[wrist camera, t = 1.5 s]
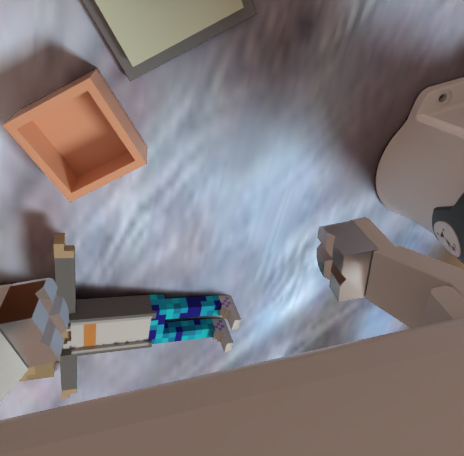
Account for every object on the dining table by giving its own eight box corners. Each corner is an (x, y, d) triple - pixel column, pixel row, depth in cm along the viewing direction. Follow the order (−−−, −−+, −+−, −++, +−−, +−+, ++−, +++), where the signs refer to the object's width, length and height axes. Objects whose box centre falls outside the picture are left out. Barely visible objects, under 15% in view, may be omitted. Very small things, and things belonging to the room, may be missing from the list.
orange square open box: (97, 67, 30) (89, 77, 27) (147, 146, 35) (146, 163, 31) (18, 110, 31) (2, 125, 28) (78, 182, 35) (70, 202, 32)
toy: (216, 393, 54) (-19, 436, 42) (203, 351, 60) (-6, 378, 48) (261, 258, 40) (-69, 268, 29) (239, 221, 46) (-42, 216, 34)
